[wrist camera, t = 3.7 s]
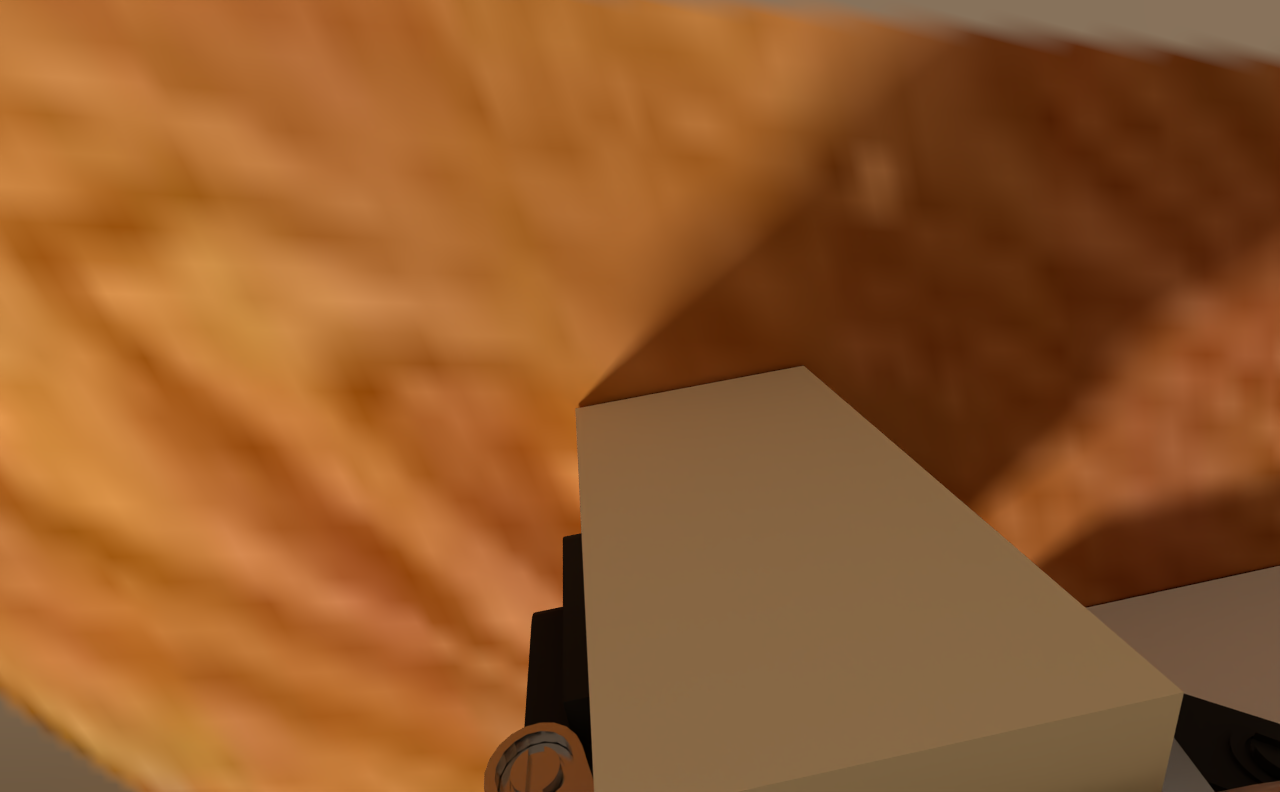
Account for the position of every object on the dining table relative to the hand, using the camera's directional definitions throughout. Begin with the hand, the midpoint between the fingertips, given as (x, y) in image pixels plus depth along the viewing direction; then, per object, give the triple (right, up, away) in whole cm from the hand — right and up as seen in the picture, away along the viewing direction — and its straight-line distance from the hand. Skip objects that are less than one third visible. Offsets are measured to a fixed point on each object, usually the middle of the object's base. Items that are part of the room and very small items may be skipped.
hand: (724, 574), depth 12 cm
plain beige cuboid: (0, 0, +1) cm, 1 cm away
